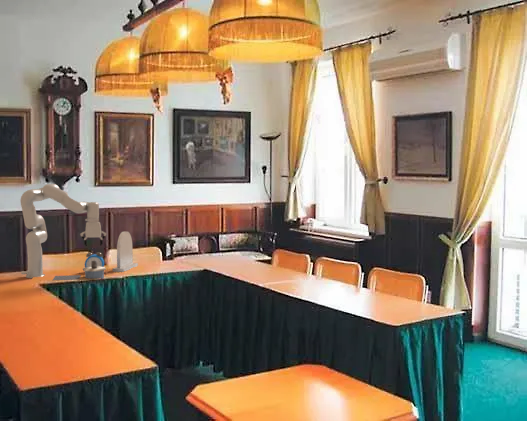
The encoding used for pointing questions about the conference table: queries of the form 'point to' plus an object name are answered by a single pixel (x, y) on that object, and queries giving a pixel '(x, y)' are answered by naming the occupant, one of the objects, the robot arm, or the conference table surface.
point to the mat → (67, 277)
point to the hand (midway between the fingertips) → (93, 245)
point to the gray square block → (94, 274)
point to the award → (124, 253)
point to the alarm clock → (93, 257)
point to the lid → (94, 267)
